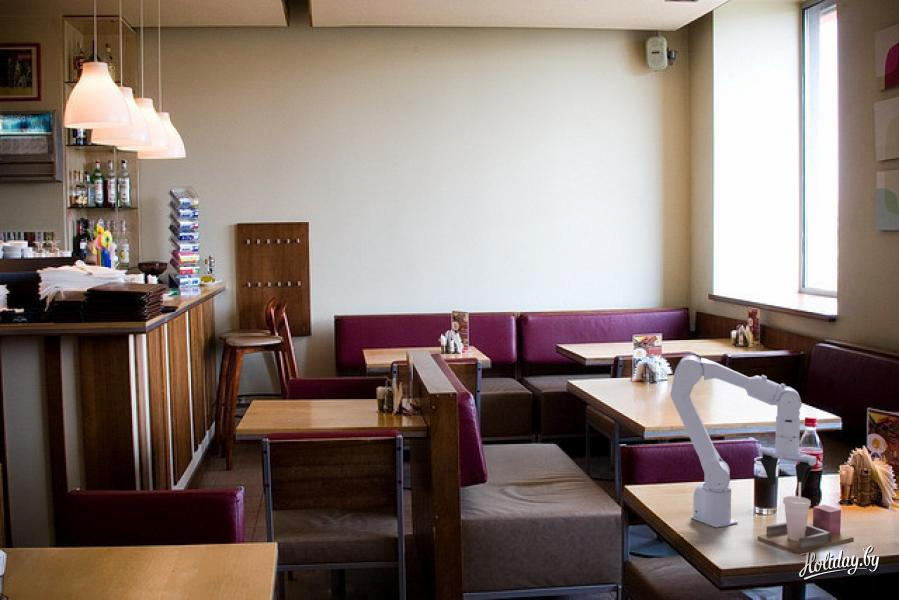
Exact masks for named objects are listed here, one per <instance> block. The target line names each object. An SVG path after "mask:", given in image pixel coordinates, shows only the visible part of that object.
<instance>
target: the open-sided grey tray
mask: <svg viewBox="0 0 899 600" xmlns="http://www.w3.org/2000/svg"><path fill="white" fill-rule="evenodd" d="M841 520H842V509H840V508H836V507H834V506H830V505H827V504H820V505H817V506H816V505H815V506H813V510H812V523H809V524H806V530H805V536H804V537H803V538H799V541H794V540H790V539H789V538H788V533H787V523H786V521H784V522H781V523H777V524H776V523H775V524H772V525H767V526H766V532H765V533H766V534H762V535H757V540H758V541H761V542H764V543H765V544H767V545H768V544H769V545H772V546H774V547H776V548H778V549H782V550H785V551H787V552H789V553H792V554H795V555H800V554H804V553H808V552H811V551H815V550H820V549H823V548H828V546H829V547H832V546H837V545H840V544H845V543H849V542H852V541H854V539H855V538H854V536H851V535H848V534H847V533H846V534H845V533H843V532H841V526H842V525H841V523H842V521H841ZM844 542H845V543H844Z"/></svg>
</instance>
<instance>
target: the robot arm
mask: <svg viewBox="0 0 899 600" xmlns="http://www.w3.org/2000/svg"><path fill="white" fill-rule="evenodd" d="M674 371H675V372H674V373H673V380H672V383H671V384H672V385H671V389H670V390H671V391H670V398H671V401H672V402H673V404H674V406H675V408H676V411H677V413H678V416H679V417H680V420H681V421H682V424H683V426H684V428H685V431H686V432H687V435H688V436H689V439H690V441H691V443H692V445H693V448H694V449H695V452H696V454H697V456H698V458H699V461H700V465H701V467H702V470H703V473H704V478H703V479H704V483H701V484H699V485H697V486H696V487H695V490H694V492H693V499H692V501H693V504H692V505H693V507H692V508H693V510H692V512H693V513H692V514H693V515H690V518H691V519H693V520H695V521H698V522H701V523H702V524H706V525H709V526H711V527H714V528H720V527H721V528H722V527H726V526H730V525H734V524H739V521H738V520H736V519H733V518H732V517H731V515H732V486H731V485H730V482H731V477H730V473H731V470H730V467H729V465H728V463H727V462H726V461H724V460H723V458H721V456H720V454H719V452H718V451H717V449H716V447H715V445H714V443H713V441H712V439H711V437H710V434H709V432H708V431H707V428H706V426H705V424H704V422H703V420H702V418H701V415H700V413H699V411H698V409H697V407H696V404H695V402H694V401H693V398H692V396H691V394H692V392H693V389H694V386H695V385H696V384H697V383H698V382H699V381H700V380H701V379H702V377H703V380H704V381H708V380H712V379H713V380H714V379H718V380H720V381H722V382H725V383H727V384H730V385H734V386H737V387H739V388H741V389H744V390H745V391H746V393H747V396H748V397H751V398H753V399H755V400H757V401H759V402H763V403H764V404H768V405H770V406H776V407H777V411H776V417H775V440H774V441H775V442H774V443H775V446H774V448H772V447H764V446H761V447H759V448H758V456H761V458H760V463H761V465H762V467H763V469H764V471H765V474H766V477H767V482H768V485H769V486H775V485H776V482H777V481H776V479H777V466H778V460H779V459H780V460H785V461H790V462H796V463H798V464H795V471H796V477H797V478H796V479H797V480H796V482H797V483H796V490H797V492H798V488H799V482H801V492H804V489H805V486H806V483H807V479H808V477H809V475H810V473H811V471H812V470H813V468H814V466H815V465H817V456H814V455H810V454H808V453H807V454H806V453H803V452H800V434H801V433H800V430H801V429H800V426H801V419H800V409H801V407H802V404H803V402H802V400H801V399H802V398H801V396H800V394H799V392H798V391H797V390H796V389H794V388H792V387H791V386H790V385H789V386H787V385H786V383H780V384H779V383H777V382H775V381H773V380H770V379H767V378H768V377H767V375H764V374H762V375H761V376H760V375H754V376H750V377H749V376H747V375H744V374H743V373H740V372H739V371H735V370H733V369H731V368H730V367H727V366H724V365H723V364H720V363H718V362H717V361H713V360H710V359H708V358H704V357H701V358H700V357H699V356H697V355H694V354H687V355H685V356H683V357H682V358H681V359H680V360H679V362H678V364H677V366H676V368H675V370H674Z"/></svg>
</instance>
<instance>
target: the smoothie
mask: <svg viewBox="0 0 899 600" xmlns="http://www.w3.org/2000/svg"><path fill="white" fill-rule="evenodd" d="M797 492H798V495H796V496H794V495H790V496H785V497H783V500H782V503H783V504H784V513H785V522H786V523H787V533H788V538H789V539H790V540H794V541H799V538H803V537H804V536H805V530H806V524H807V523H808V516H809V510H810V507H811V506H812V504H811V503H812V502H811V499H809V498H806V497H803V496H802V491H801V482H799V488H798V491H797ZM807 525H808V524H807Z"/></svg>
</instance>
